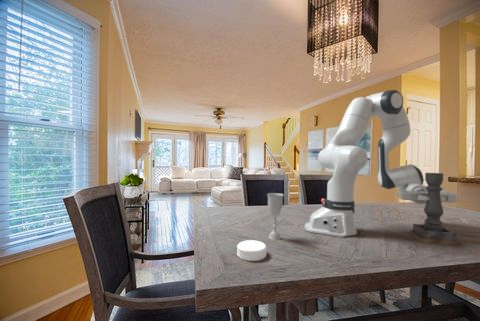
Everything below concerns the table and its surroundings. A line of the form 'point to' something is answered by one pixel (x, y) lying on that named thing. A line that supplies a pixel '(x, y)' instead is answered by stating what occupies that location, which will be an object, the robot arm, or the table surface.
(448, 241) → the socket base
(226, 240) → the table surface
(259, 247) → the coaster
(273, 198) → the chalice
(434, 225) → the candle holder
